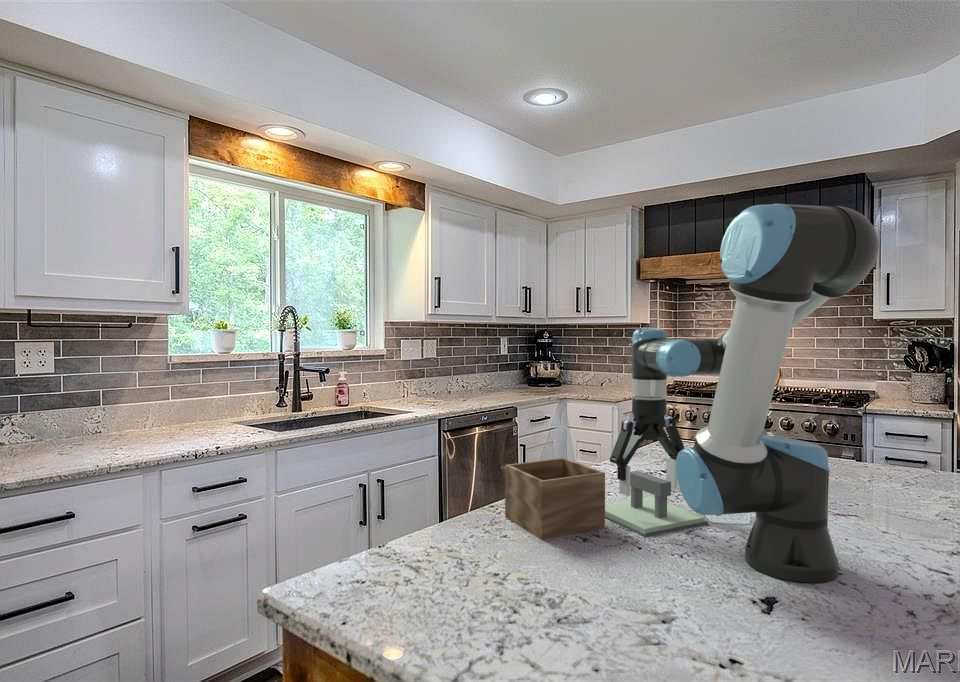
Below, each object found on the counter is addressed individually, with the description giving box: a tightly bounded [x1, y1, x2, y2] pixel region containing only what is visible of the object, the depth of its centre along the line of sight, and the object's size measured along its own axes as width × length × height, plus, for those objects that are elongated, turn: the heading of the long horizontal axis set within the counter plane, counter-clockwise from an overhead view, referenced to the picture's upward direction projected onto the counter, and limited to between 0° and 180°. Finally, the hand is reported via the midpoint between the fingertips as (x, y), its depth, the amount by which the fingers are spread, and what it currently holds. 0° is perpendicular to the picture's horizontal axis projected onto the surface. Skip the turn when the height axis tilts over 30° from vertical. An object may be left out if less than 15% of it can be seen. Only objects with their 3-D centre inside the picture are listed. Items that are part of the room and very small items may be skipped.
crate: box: [504, 457, 606, 540], centre depth 132 cm, size 16×16×12 cm
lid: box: [605, 470, 706, 534], centre depth 135 cm, size 17×17×9 cm
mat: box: [605, 515, 709, 538], centre depth 135 cm, size 18×18×1 cm
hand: (648, 490), depth 135 cm, fingers open, 13 cm apart
